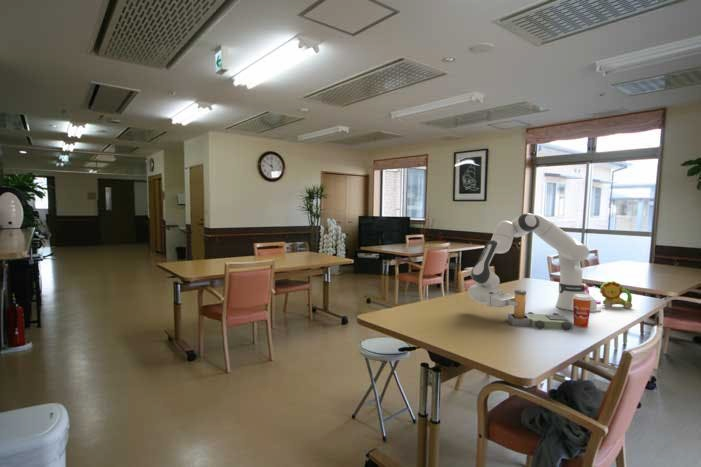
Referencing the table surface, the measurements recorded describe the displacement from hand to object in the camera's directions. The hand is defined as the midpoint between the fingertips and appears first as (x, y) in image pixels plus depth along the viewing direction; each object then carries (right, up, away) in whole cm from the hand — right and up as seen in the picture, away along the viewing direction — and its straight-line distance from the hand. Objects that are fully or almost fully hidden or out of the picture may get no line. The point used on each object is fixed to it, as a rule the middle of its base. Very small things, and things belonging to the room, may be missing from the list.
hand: (521, 303), depth 193 cm
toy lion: (+71, -9, +36) cm, 81 cm away
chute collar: (-1, -10, +1) cm, 10 cm away
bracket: (+64, -8, +49) cm, 81 cm away
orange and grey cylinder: (-1, -8, +1) cm, 8 cm away
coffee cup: (+29, -11, -1) cm, 31 cm away
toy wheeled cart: (+13, -11, -1) cm, 17 cm away
